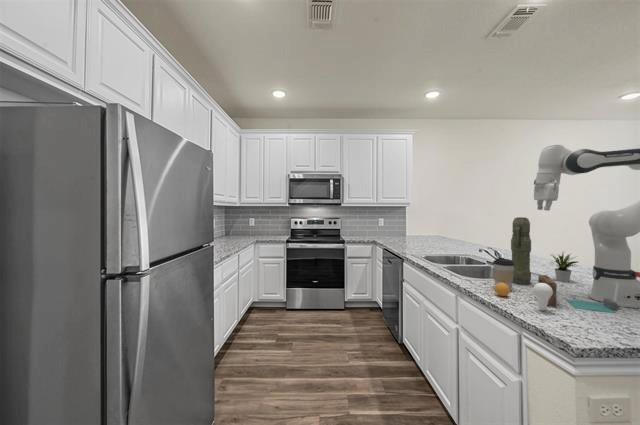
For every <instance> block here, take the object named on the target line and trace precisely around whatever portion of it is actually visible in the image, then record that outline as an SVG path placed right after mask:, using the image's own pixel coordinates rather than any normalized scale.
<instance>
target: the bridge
mask: <svg viewBox="0 0 640 425" xmlns="http://www.w3.org/2000/svg"><path fill="white" fill-rule="evenodd" d="M537 279H538V283H545V284H548V285H549V286H550V287H551V288H552V291H553V294H552V296H551V297H550V298H549V300H548V305H547V307H552V308H553V307H554V308H557V292H558V291H557V285H558V284H557V282H555V281H554V280H553V279H552V278H551V277H550V276H548V275H546V274H538V278H537ZM538 283H537V284H538Z"/></svg>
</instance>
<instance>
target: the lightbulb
mask: <svg viewBox="0 0 640 425" xmlns="http://www.w3.org/2000/svg"><path fill="white" fill-rule="evenodd" d="M532 290H533V291H532V292H533V294H534V295H535V297H536V299H537V304H538V309H539V310H540V311H543V312H544V311H546V310H547V307H548V306H547V305H548V300H549V298H550V297H551V296H552V294H553V291H552V288H551V287H550V286H549V285H548V284H545V283H536V284H534V285H533V288H532Z"/></svg>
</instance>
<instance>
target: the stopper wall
mask: <svg viewBox="0 0 640 425" xmlns="http://www.w3.org/2000/svg"><path fill="white" fill-rule="evenodd" d="M603 305H604V306H606V307H607V308H609V309H610V310H613V311H614V312H618V306H617V303H616V302H614V301H613V300H611V299H606V298H604V302H603Z"/></svg>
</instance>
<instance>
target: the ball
mask: <svg viewBox="0 0 640 425" xmlns="http://www.w3.org/2000/svg"><path fill="white" fill-rule="evenodd" d="M493 289H494V292H495V293H496V295H498V296H500V297H506V296H508V295H509V294H510V292H511V291H510V288H509V286H508V285H507V284H505V283H498V284H496V285H495V284H494V288H493Z"/></svg>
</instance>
